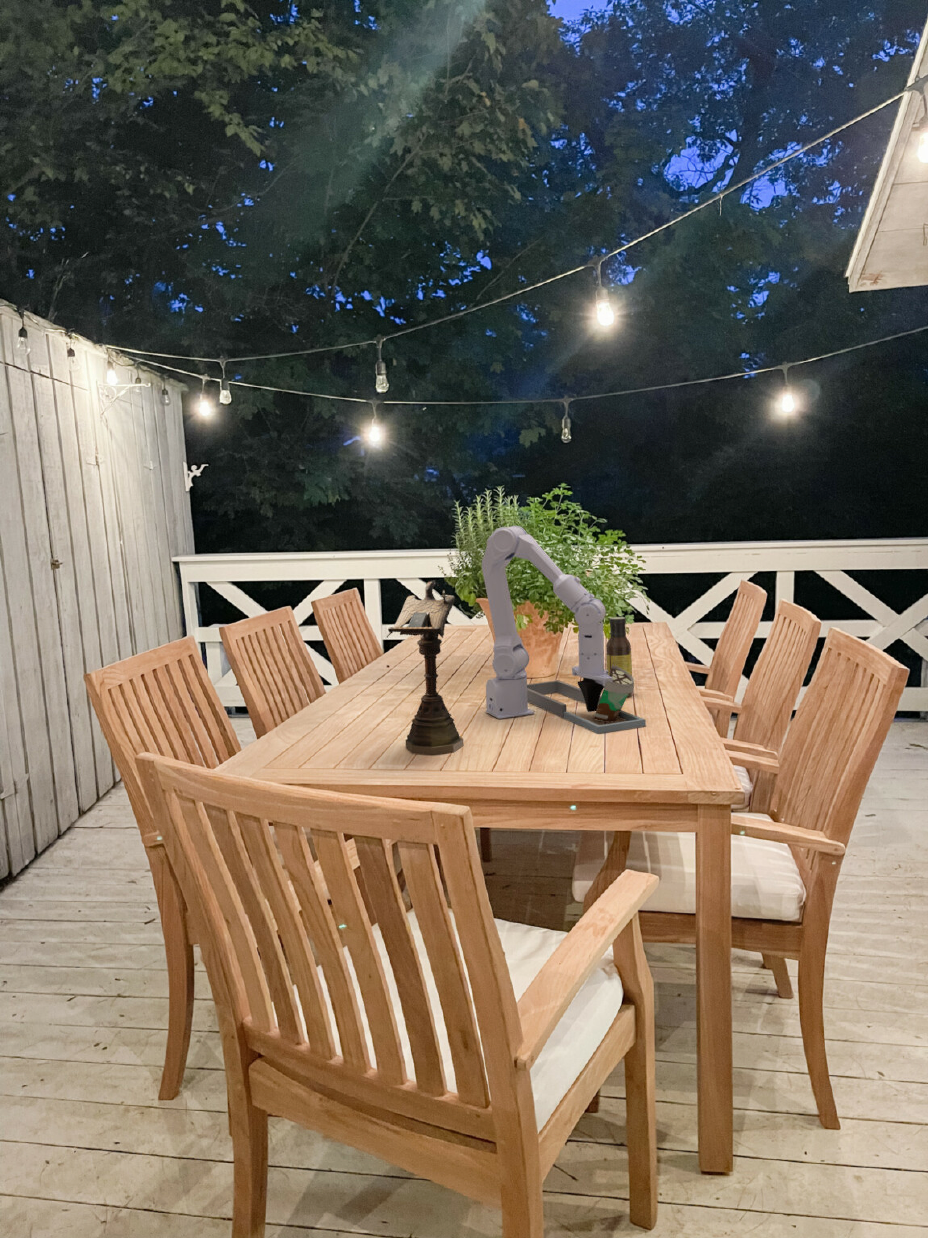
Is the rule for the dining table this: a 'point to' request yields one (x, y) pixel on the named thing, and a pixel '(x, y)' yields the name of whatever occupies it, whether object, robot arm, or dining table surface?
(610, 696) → the food container
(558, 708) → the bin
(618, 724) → the frame
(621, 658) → the sauce bottle
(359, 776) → the dining table surface
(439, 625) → the book lectern
